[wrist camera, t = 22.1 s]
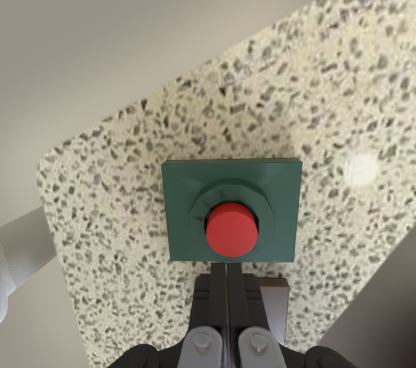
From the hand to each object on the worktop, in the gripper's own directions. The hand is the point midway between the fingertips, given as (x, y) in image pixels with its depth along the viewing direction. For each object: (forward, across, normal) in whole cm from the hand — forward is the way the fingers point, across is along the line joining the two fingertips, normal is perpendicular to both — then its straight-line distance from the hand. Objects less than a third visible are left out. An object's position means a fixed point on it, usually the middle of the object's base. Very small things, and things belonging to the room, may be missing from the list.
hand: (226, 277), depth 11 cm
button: (+6, +1, 0) cm, 6 cm away
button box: (+10, +1, 0) cm, 10 cm away
